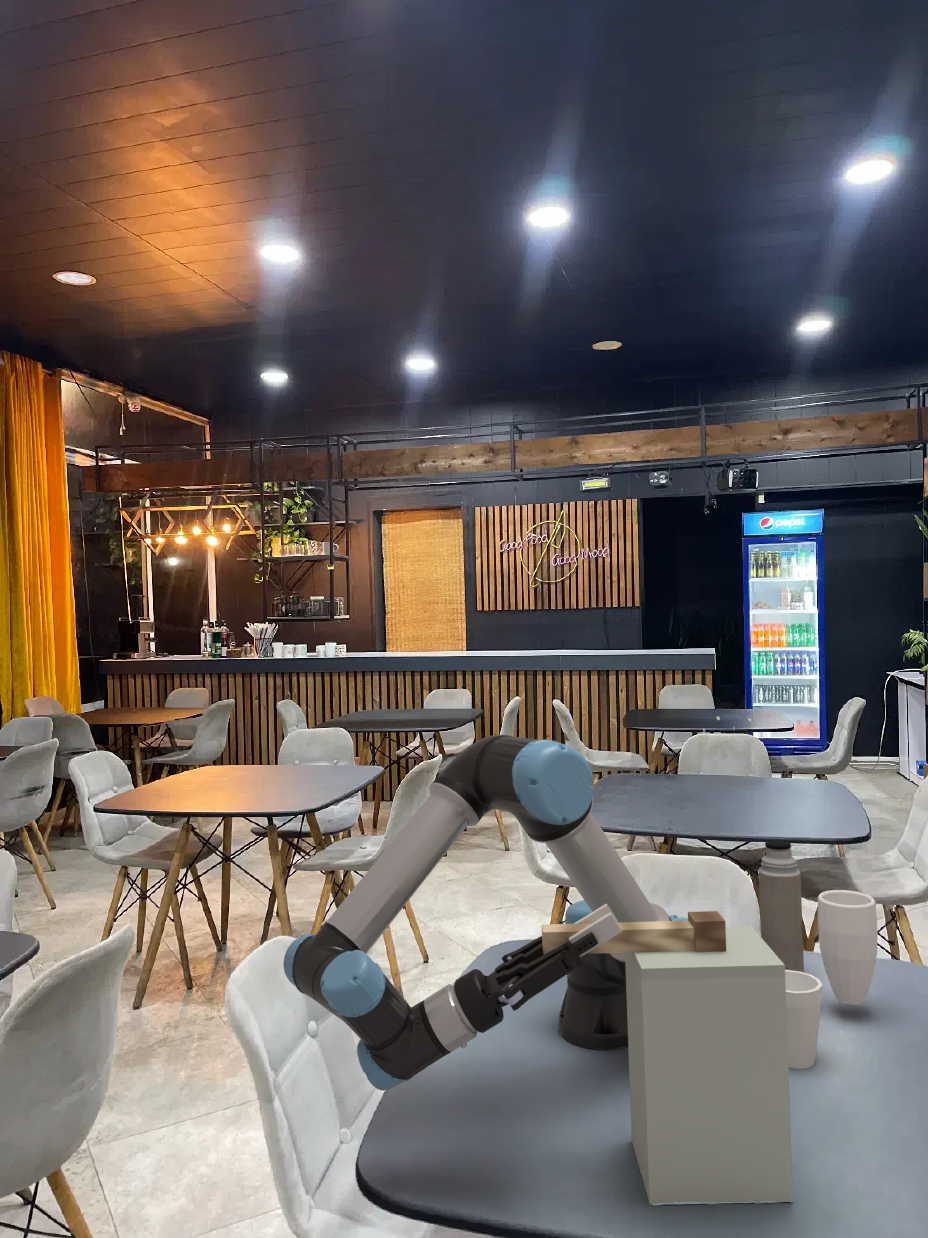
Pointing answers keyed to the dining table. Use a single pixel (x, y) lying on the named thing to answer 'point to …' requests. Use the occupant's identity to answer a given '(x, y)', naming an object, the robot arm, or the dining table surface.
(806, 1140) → the dining table surface
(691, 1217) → the dining table surface
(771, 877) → the thermos bottle
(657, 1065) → the stand
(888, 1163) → the dining table surface
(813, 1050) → the foam cup
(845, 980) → the cup
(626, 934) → the beech bar
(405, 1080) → the robot arm
